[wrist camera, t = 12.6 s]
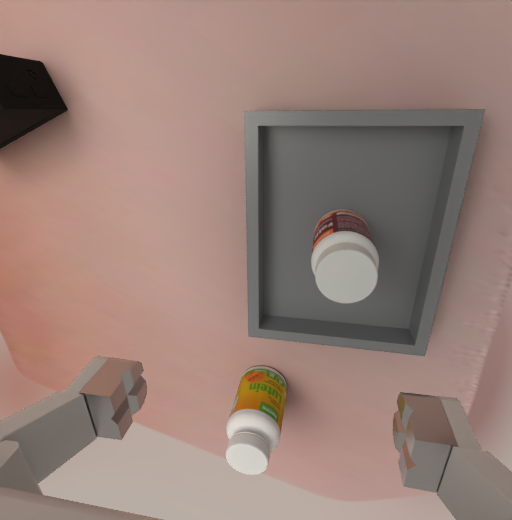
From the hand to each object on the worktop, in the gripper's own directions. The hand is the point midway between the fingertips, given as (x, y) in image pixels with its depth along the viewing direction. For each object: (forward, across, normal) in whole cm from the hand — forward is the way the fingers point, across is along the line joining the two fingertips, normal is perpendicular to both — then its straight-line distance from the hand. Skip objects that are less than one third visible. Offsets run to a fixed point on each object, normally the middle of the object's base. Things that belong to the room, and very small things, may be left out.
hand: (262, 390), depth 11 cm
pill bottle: (+21, -4, +2) cm, 21 cm away
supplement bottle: (+22, +4, +21) cm, 31 cm away
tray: (+22, -4, +2) cm, 22 cm away
